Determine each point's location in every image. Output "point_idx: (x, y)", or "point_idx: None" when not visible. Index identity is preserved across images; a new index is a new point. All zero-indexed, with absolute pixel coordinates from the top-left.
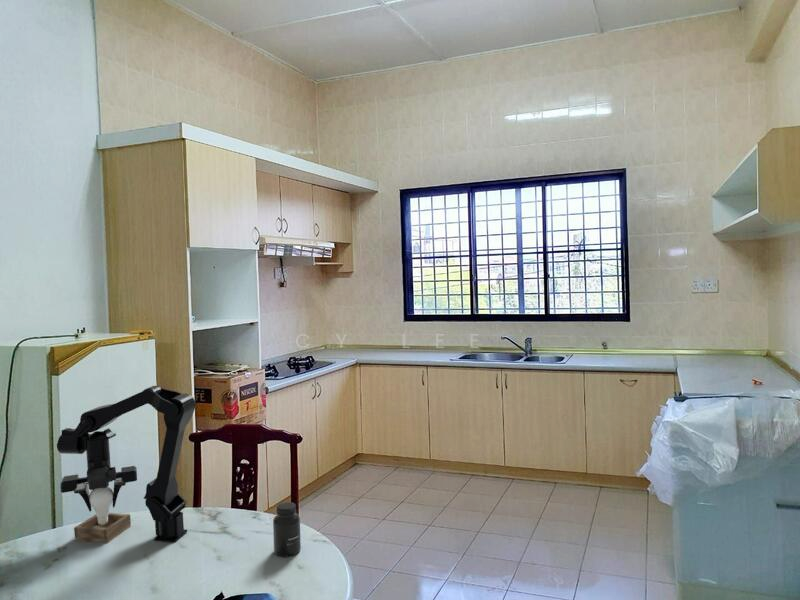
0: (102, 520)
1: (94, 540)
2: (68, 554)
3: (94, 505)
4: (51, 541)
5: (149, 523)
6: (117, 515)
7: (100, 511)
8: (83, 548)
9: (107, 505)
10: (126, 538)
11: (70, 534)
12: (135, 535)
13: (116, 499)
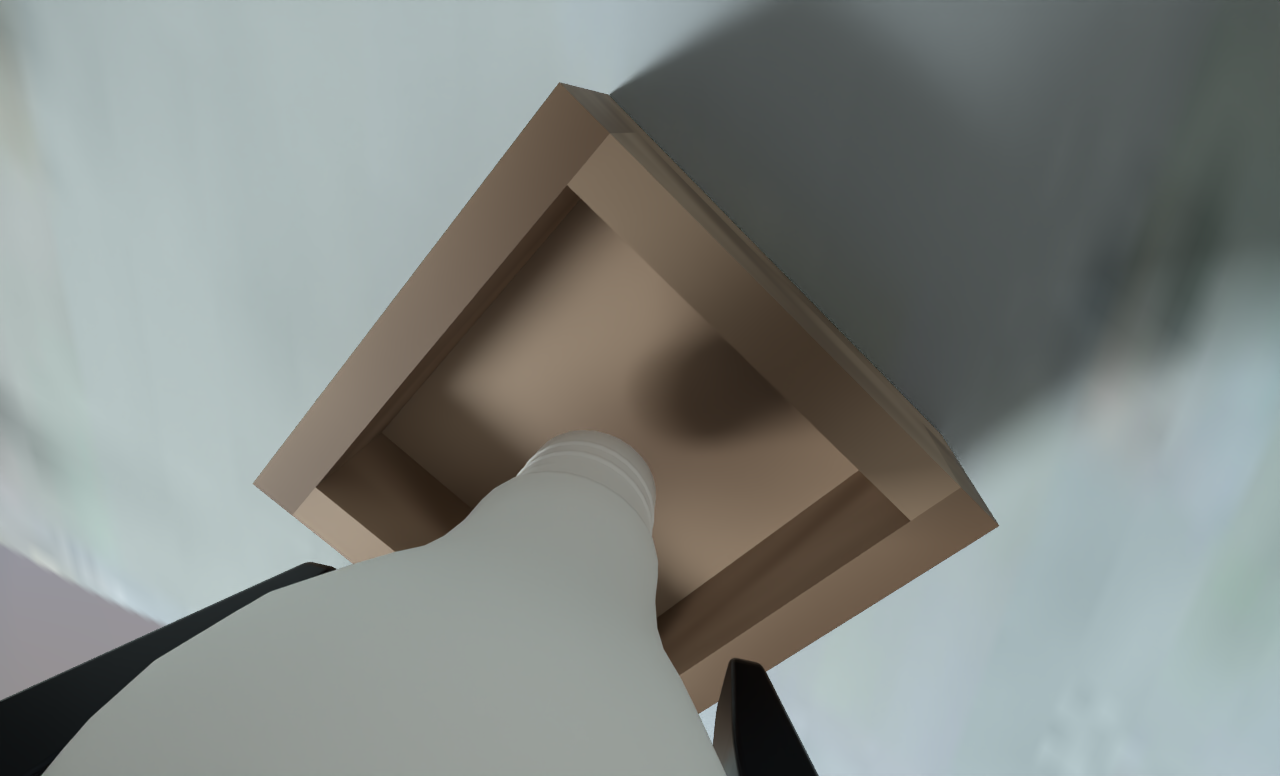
0: (587, 453)
1: (749, 241)
2: (1154, 9)
3: (650, 666)
4: (1171, 570)
5: (175, 369)
6: None
7: (563, 530)
8: (915, 106)
9: (361, 562)
10: (385, 93)
11: (938, 611)
12: (287, 122)
13: (108, 652)
